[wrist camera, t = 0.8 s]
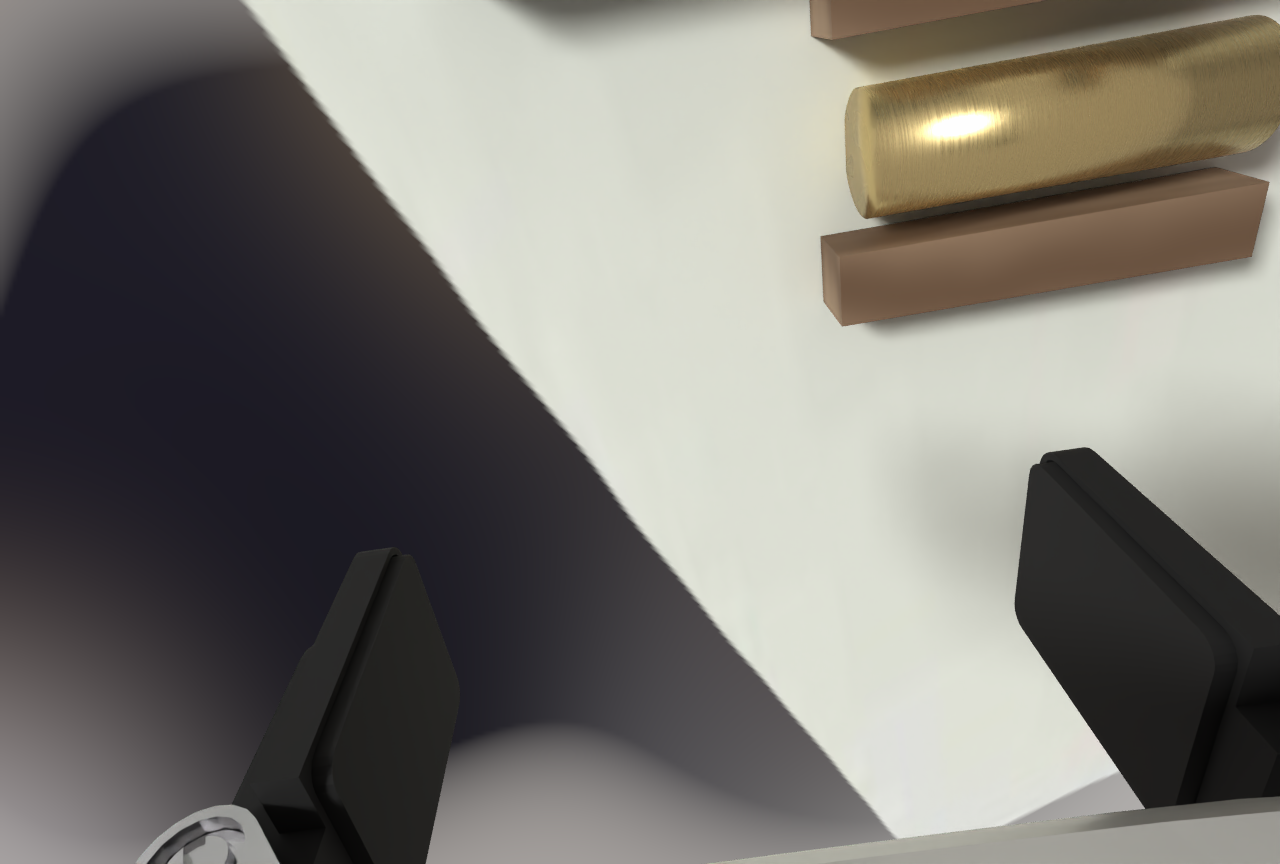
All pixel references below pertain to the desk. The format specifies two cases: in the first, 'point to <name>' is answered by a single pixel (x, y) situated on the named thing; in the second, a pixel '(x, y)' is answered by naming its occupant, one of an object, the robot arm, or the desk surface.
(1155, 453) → the desk surface
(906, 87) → the axle
